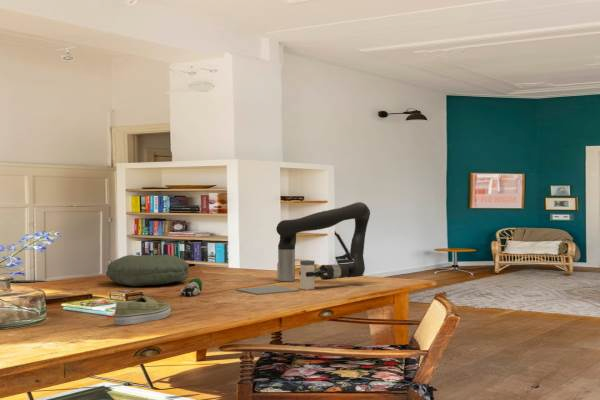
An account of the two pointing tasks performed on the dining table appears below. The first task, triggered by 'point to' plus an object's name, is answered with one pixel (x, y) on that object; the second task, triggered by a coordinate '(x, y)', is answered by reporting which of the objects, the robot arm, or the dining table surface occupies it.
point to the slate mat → (267, 290)
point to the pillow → (147, 270)
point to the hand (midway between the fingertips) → (303, 274)
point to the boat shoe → (140, 311)
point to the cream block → (305, 267)
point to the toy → (192, 288)
